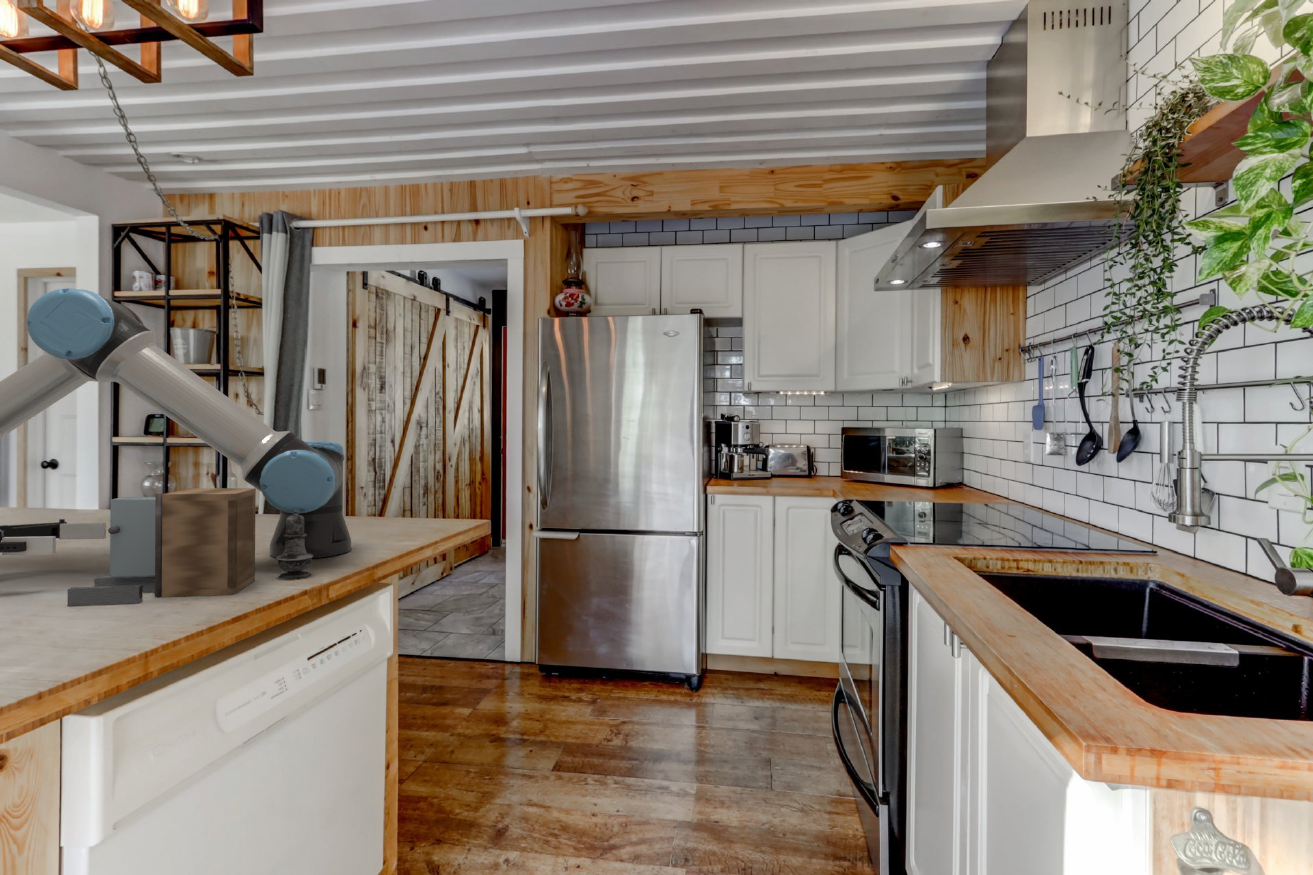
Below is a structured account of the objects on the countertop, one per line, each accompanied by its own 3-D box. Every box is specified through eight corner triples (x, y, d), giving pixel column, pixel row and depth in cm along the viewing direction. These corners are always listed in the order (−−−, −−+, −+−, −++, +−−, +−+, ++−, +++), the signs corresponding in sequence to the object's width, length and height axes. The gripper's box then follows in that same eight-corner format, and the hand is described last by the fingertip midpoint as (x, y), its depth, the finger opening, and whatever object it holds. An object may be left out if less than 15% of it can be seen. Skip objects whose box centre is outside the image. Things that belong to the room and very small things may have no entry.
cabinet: (153, 597, 100) (154, 494, 100) (180, 583, 109) (181, 488, 109) (234, 594, 103) (235, 494, 102) (254, 580, 112) (255, 488, 111)
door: (106, 584, 107) (106, 500, 106) (123, 577, 112) (123, 496, 111) (162, 583, 109) (163, 500, 108) (176, 576, 114) (177, 496, 113)
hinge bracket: (67, 605, 95) (67, 588, 95) (97, 592, 102) (98, 576, 102) (138, 603, 97) (139, 586, 97) (163, 590, 104) (163, 574, 104)
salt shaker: (307, 571, 119) (308, 506, 119) (317, 576, 115) (318, 509, 115) (271, 575, 115) (272, 508, 115) (280, 582, 111) (281, 512, 111)
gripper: (-17, 548, 115) (122, 545, 120) (-153, 582, 91) (28, 577, 96) (-17, 506, 115) (122, 505, 120) (-153, 529, 91) (28, 527, 96)
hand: (81, 537), depth 108 cm, fingers open, 13 cm apart
